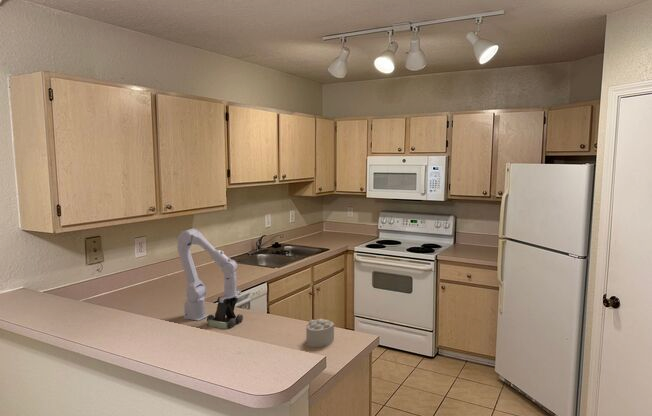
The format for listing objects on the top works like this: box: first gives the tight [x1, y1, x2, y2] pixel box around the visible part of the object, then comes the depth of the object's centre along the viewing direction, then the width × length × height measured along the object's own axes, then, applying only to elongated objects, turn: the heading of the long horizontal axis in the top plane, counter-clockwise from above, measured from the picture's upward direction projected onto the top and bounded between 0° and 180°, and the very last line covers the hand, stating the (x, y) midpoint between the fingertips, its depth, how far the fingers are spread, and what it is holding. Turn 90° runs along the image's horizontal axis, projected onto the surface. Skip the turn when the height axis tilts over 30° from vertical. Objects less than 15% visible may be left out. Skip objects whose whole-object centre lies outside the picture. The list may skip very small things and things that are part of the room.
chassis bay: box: [206, 312, 244, 330], centre depth 207 cm, size 14×12×4 cm
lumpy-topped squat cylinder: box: [305, 318, 335, 348], centre depth 186 cm, size 10×13×9 cm
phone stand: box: [214, 295, 237, 323], centre depth 207 cm, size 9×6×12 cm, turn 137°
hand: (230, 312), depth 211 cm, fingers closed
